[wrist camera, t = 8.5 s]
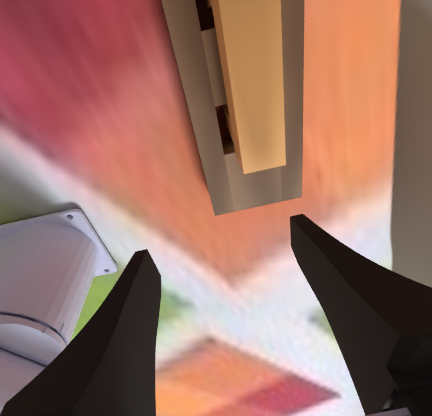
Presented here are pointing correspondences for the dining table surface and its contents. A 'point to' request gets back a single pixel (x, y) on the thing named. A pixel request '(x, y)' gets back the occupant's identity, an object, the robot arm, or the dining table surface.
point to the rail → (216, 96)
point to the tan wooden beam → (252, 79)
